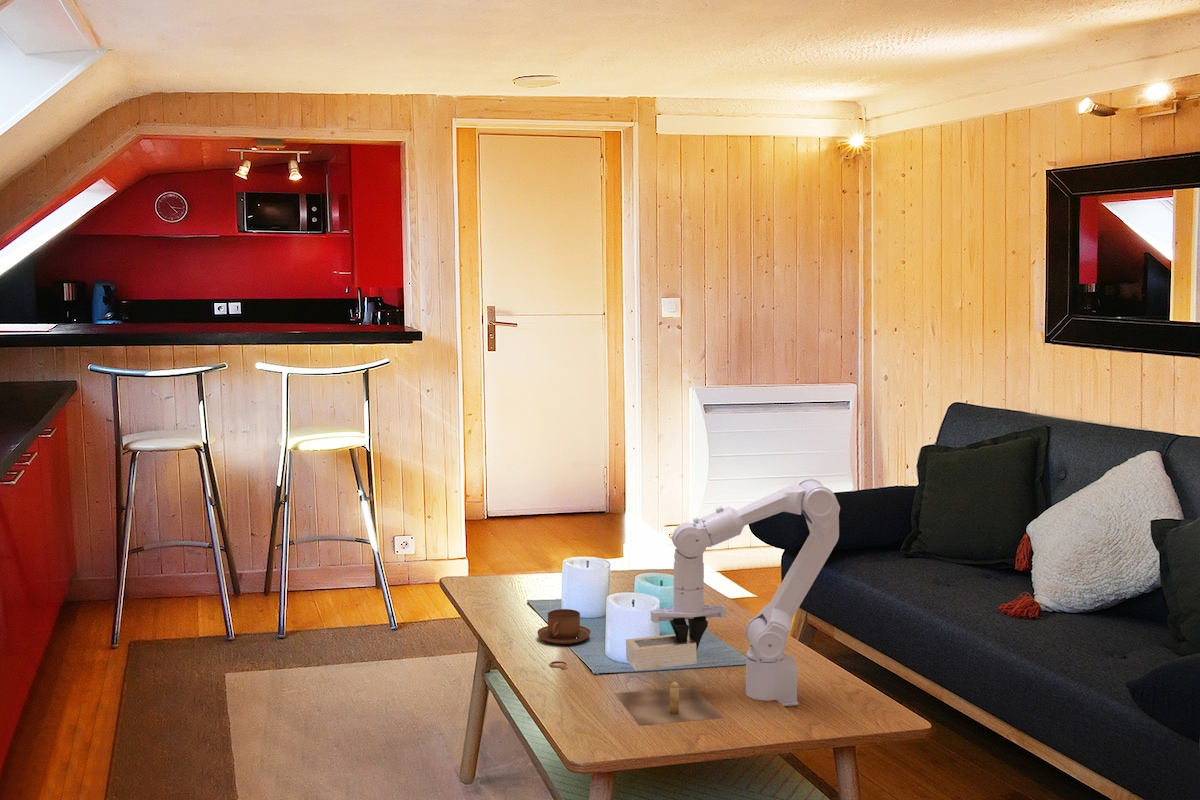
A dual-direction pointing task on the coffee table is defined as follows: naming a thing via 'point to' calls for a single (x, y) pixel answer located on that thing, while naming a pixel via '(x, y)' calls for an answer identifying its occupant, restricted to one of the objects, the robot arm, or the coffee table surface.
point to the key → (559, 665)
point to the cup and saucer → (563, 627)
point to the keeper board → (668, 705)
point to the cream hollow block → (660, 652)
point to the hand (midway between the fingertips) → (688, 655)
